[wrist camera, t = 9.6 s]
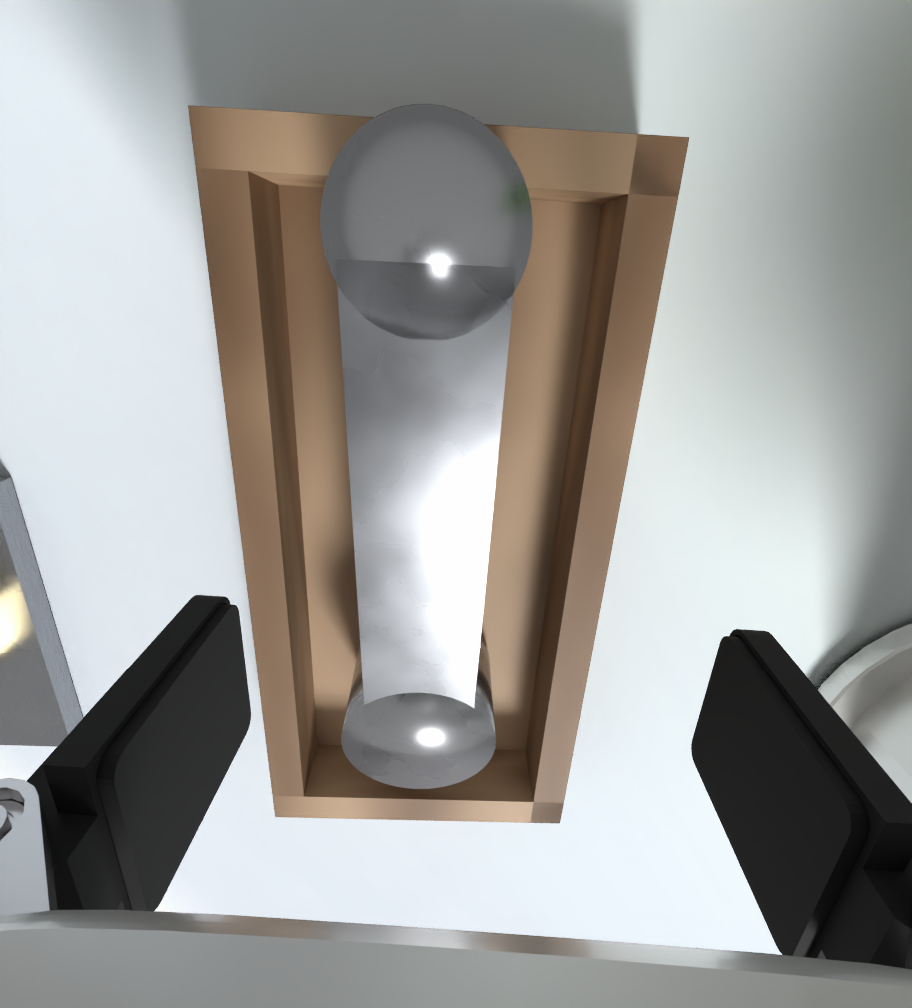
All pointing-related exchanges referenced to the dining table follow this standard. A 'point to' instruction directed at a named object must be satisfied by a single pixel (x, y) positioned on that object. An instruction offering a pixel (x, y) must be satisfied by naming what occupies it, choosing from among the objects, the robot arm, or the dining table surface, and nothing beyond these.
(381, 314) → the silver dumbbell
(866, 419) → the dining table surface
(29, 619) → the nut base
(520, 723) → the tray
